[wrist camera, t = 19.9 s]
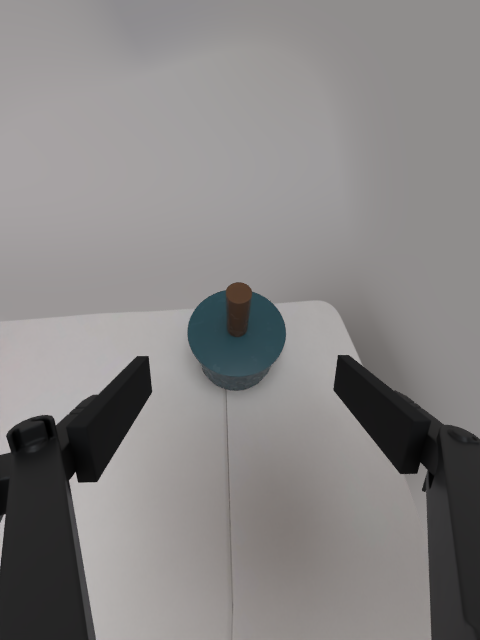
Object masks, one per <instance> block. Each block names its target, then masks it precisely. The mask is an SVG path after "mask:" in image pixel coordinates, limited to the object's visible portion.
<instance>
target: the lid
mask: <svg viewBox="0 0 480 640" xmlns="http://www.w3.org/2000/svg"><path fill="white" fill-rule="evenodd" d="M285 338H286V328H285V324H284V320H283V318H282V316H281V314H280V312H279V311H278V309H277V308H276V307H275V306H274V304H273V303H271V302H270V301H269V300H268V299H266V298H265V297H263V296H261V295H259V294H257V293H254V292H252V290H251V288H250V287H249V286H248V285H247V284H244V283H239V282H237V283H233V284H231V285H230V286H228V288H227V289H226V290H225V291H221V292H218V293H216V294H213V295H211V296H209V297H208V298H206V299H205V300H204V301H202V302H201V303H200V304H199V305H198V306H197V308H196V309H195V310H194V312H193V314H192V316H191V318H190V321H189V325H188V341H189V345H190V347H191V350H192V352H193V354H194V355H195V357H196V358H197V359H198V361H199V362H200V363H201V364H202V365H203V366H205V367H206V368H207V369H209V370H210V371H212V372H214V373H216V374H219V375H222V376H226V377H233V378H241V377H248V376H252V375H255V374H258V373H260V372H262V371H264V370H265V369H267V368H268V367H270V366H271V365H272V364H273V363H274V362H275V361H276V359H277V358H278V357H279V355H280V353H281V352H282V349H283V347H284V344H285Z"/></svg>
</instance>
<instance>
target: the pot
mask: <svg viewBox="0 0 480 640" xmlns="http://www.w3.org/2000/svg"><path fill="white" fill-rule="evenodd" d="M201 366H202V369H203V371H204V374H205V375H206V376H207V377H208V378H209V379H210V380H211V381H212V382H213V383H214V384H216V385H217V386H219V387H221V388H224V389H228V390H244V389H247V388H250V387H252V386H254V385H256V384H258V383H259V382H260V381H261V380H262V379H263V378H264V376H265V375H266V374H267V373H268V371H269V369H270V367H271V366H270V367H268V368H267V369H265V370H264V371H262V372H260V373H258V374H255V375H252V376H248V377H241V378H233V377H226V376H222V375H219V374H216V373H214V372H212V371H210V370H209V369H207V368H206V367H205V366H203V365H202V364H201Z"/></svg>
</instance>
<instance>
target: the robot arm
mask: <svg viewBox="0 0 480 640" xmlns="http://www.w3.org/2000/svg"><path fill="white" fill-rule="evenodd" d="M333 390H334V391H335V393H336V394H337V395H338V396H339V398H340V399H341V400H342V401H343V403H344V404H345V405H346V406H347V408H348V409H349V410H350V411H351V413H352V414H353V415H354V416H355V418H356V419H357V420H358V421H359V423H360V424H361V425H362V426H363V428H364V429H365V430H366V431H367V433H368V434H369V435H370V436H371V438H372V439H373V440H374V442H375V443H376V444H377V445H378V447H379V448H380V449H381V450H382V452H383V453H384V454H385V455H386V457H387V458H388V459H389V460H390V462H391V463H392V464H393V465H394V467H395V468H396V469H397V470H398V472H399V473H400V474H417V472H418V469H419V465H420V462H421V463H422V464H423V465H424V466H425V467H426V469H427V470H428V471H427V475H426V478H425V482H424V485H423V488H422V491H424V492H425V491H426V497H427V524H428V554H429V583H430V611H431V640H480V439H479V438H478V437H476V436H475V435H474V434H472V433H470V432H468V431H466V430H464V429H462V428H459V427H455V426H452V425H444V424H442V423H441V422H440V421H438V420H437V419H436V418H434V417H433V416H432V415H430V414H429V413H428V412H427V411H425V410H424V409H421V407H420V406H419V405H417V404H416V403H414V401H412V400H411V399H410V398H408V397H407V396H405V395H403V394H401V393H399V392H397V391H393V390H392V389H391V388H389V387H388V386H387V385H386V384H384V383H383V382H382V381H381V380H379V379H378V378H377V377H375V376H374V375H373V374H372V373H370V372H369V371H368V370H367V369H366V368H364V367H363V366H362V365H360V364H359V363H358V362H357V361H355V360H354V359H353V358H352V357H350V356H349V355H338V359H337V367H336V374H335V382H334V389H333ZM151 393H152V386H151V376H150V366H149V356H137V357H136V358H135V359H134V360H133V361H132V362H131V363H130V364H129V365H128V366H127V367H126V368H125V369H124V370H123V371H122V372H121V373H120V374H119V375H118V376H117V377H116V378H115V379H114V380H113V381H112V382H111V383H110V384H109V385H108V386H107V387H106V388H105V389H104V390H103V391H102V392H101V393H100V394H99V395H92V396H90V397H88V398H87V399H85V400H83V401H82V402H81V403H80V404H79V405H78V406H77V407H75V409H73V410H72V411H71V412H70V413H69V415H67V416H66V417H65V418H64V419H63V420H61V421H60V422H59V423H58V424H57V425H55V421H54V418H53V417H52V416H49V415H41V416H36V417H33V418H30V419H27V420H25V421H22V422H21V423H19V424H17V425H15V426H14V427H13V428H12V429H11V430H9V431H8V433H7V435H6V437H7V440H8V443H9V446H10V450H11V453H7V454H3V455H0V522H1V520H2V517H3V515H4V514H6V518H5V527H4V537H3V547H2V557H1V566H0V640H96V637H95V631H94V625H93V619H92V613H91V607H90V601H89V595H88V590H87V584H86V578H85V572H84V566H83V560H82V554H81V548H80V542H79V536H78V530H77V524H76V518H75V512H74V507H73V501H72V495H71V489H70V484H69V480H70V479H71V477H72V476H73V474H74V473H75V472H76V475H77V479H78V483H80V482H97V481H98V480H99V478H100V476H101V475H102V473H103V471H104V470H105V468H106V467H107V465H108V463H109V462H110V460H111V458H112V457H113V455H114V453H115V452H116V450H117V449H118V447H119V445H120V444H121V442H122V440H123V439H124V437H125V436H126V434H127V432H128V431H129V429H130V427H131V426H132V424H133V423H134V421H135V419H136V418H137V416H138V414H139V413H140V411H141V409H142V408H143V406H144V405H145V403H146V401H147V400H148V398H149V396H150V395H151Z"/></svg>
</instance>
